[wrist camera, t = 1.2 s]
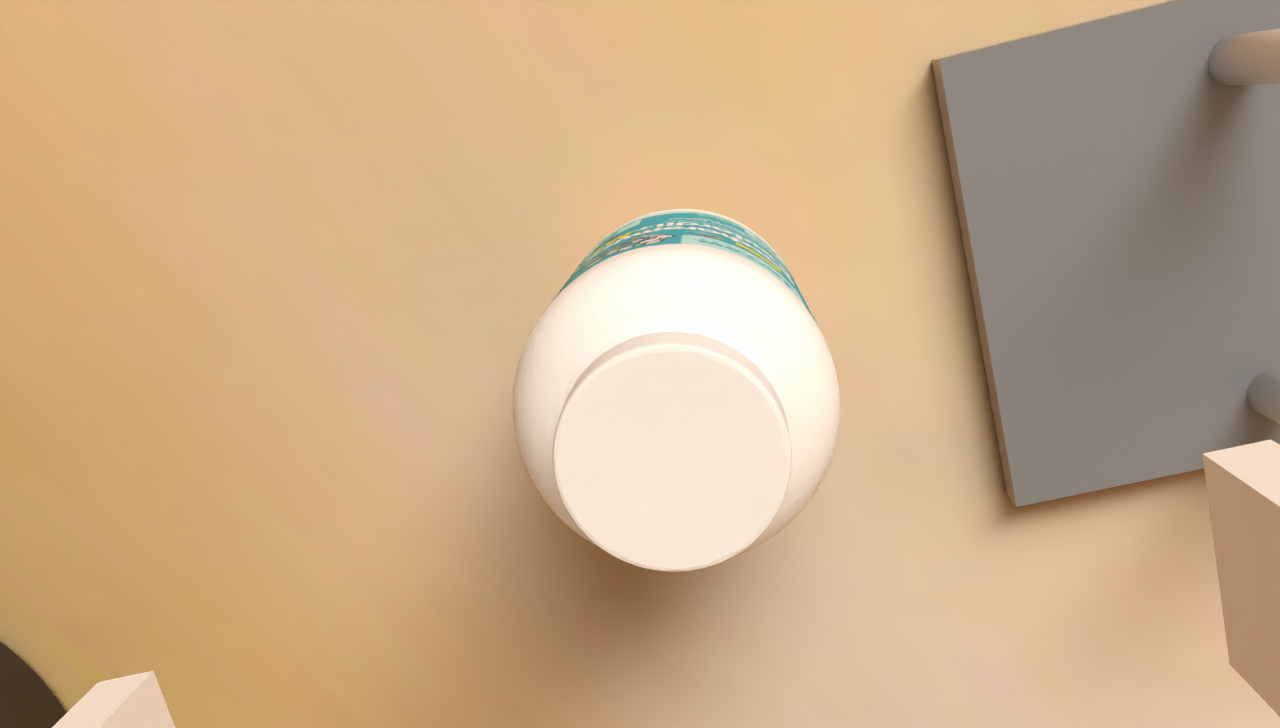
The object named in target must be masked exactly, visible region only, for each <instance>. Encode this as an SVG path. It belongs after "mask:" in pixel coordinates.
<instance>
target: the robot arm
mask: <svg viewBox="0 0 1280 728" xmlns="http://www.w3.org/2000/svg"><path fill="white" fill-rule="evenodd" d="M1202 455H1203V462H1204V470H1205V478H1206V485H1207V493H1208V501H1209V509H1210V516H1211V524H1212V532H1213V539H1214V547H1215V555H1216V563H1217V570H1218V578H1219V586H1220V594H1221V601H1222V609H1223V617H1224V624H1225V632H1226V640H1227V648H1228V655H1229V663H1230V665H1231V666H1232V667H1233V668H1234V669H1235V670H1236V671H1237V672H1238V673H1239V675H1240V676H1241V677H1242V678H1243V679H1244V680H1245V681H1246V682H1247V683H1248V684H1249V685H1250V686H1251V687H1252V688H1253V689H1254V690H1255V691H1256V692H1257V693H1258V694H1259V695H1260V696H1261V697H1262V698H1263V699H1264V701H1265V702H1266V703H1267V704H1268V705H1269V706H1270V707H1271V708H1272V709H1273V710H1274V711H1275V712H1276V713H1277V714H1278V715H1279V716H1280V445H1279V444H1278V443H1276V442H1274V441H1272V440H1266V441H1261V442H1256V443H1251V444H1246V445H1242V446H1237V447H1232V448H1227V449H1222V450H1218V451H1213V452H1208V453H1203V454H1202ZM0 728H175V726H174V723H173V721H172V718H171V715H170V713H169V710H168V708H167V705H166V702H165V700H164V697H163V695H162V692H161V689H160V687H159V684H158V682H157V679H156V677H155V674H154V671H150V672H145V673H140V674H135V675H130V676H125V677H121V678H116V679H111V680H106V681H101V682H98V683H97V684H96V685H95V686H94V687H93V688H92V689H91V690H90V691H89V692H88V693H87V694H86V695H85V696H84V697H83V698H82V699H81V700H80V701H79V702H77V703H76V704H75V705H74V706H73V707H72V708H71V709H70V710H69V711H68V712H67V713H66V712H65V711H64V709H63V708H62V706H61V705H60V703H59V702H58V700H57V699H56V697H55V696H54V695H53V693H52V692H51V691H50V689H49V688H48V687H47V686H46V685H45V683H44V682H43V681H42V680H41V679H40V678H39V676H38V675H37V674H36V673H35V672H34V671H33V670H32V669H31V668H30V667H29V666H28V665H27V664H26V663H25V662H24V661H22V660H21V659H20V658H19V657H18V656H17V655H16V654H15V653H13V652H12V651H11V650H10V649H9V648H7V647H6V646H5V645H4V644H2V643H1V642H0Z"/></svg>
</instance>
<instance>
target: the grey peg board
mask: <svg viewBox="0 0 1280 728" xmlns="http://www.w3.org/2000/svg"><path fill="white" fill-rule="evenodd" d="M931 62H932V67H933V73H934V79H935V85H936V90H937V96H938V102H939V107H940V113H941V119H942V125H943V130H944V136H945V142H946V148H947V153H948V159H949V165H950V171H951V176H952V182H953V188H954V193H955V199H956V205H957V211H958V216H959V222H960V228H961V234H962V239H963V245H964V251H965V257H966V262H967V268H968V274H969V280H970V285H971V291H972V297H973V302H974V308H975V314H976V320H977V325H978V331H979V337H980V343H981V348H982V354H983V360H984V366H985V371H986V377H987V383H988V388H989V394H990V400H991V406H992V411H993V417H994V423H995V429H996V434H997V440H998V446H999V452H1000V457H1001V463H1002V469H1003V475H1004V480H1005V486H1006V492H1007V496H1008V497H1009V499H1010V500H1011V501H1012V502H1013V503H1014V505H1015V506H1016V507H1019V506H1024V505H1029V504H1034V503H1039V502H1044V501H1048V500H1053V499H1058V498H1063V497H1068V496H1073V495H1078V494H1083V493H1087V492H1092V491H1097V490H1102V489H1107V488H1112V487H1117V486H1121V485H1126V484H1131V483H1136V482H1141V481H1146V480H1151V479H1156V478H1160V477H1165V476H1170V475H1175V474H1180V473H1185V472H1190V471H1194V470H1199V469H1204V462H1203V455H1202V454H1203V453H1208V452H1213V451H1218V450H1222V449H1227V448H1232V447H1237V446H1242V445H1246V444H1251V443H1256V442H1261V441H1266V440H1272V441H1274V442H1276V443H1278V444H1279V445H1280V0H1173V1H1169V2H1165V3H1161V4H1157V5H1153V6H1149V7H1145V8H1141V9H1137V10H1133V11H1129V12H1125V13H1121V14H1117V15H1113V16H1108V17H1104V18H1100V19H1096V20H1092V21H1088V22H1084V23H1080V24H1076V25H1072V26H1068V27H1064V28H1060V29H1056V30H1052V31H1048V32H1044V33H1040V34H1036V35H1032V36H1028V37H1024V38H1020V39H1016V40H1012V41H1008V42H1004V43H1000V44H996V45H992V46H988V47H984V48H980V49H976V50H972V51H968V52H964V53H960V54H956V55H952V56H948V57H944V58H940V59H936V60H932V61H931Z"/></svg>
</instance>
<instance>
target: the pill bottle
mask: <svg viewBox="0 0 1280 728" xmlns="http://www.w3.org/2000/svg"><path fill="white" fill-rule="evenodd" d="M513 420H514V429H515V434H516V439H517V444H518V448H519V451H520V454H521V457H522V460H523V463H524V465H525V468H526V470H527V472H528V474H529V476H530V478H531V480H532V482H533V484H534V486H535V487H536V489H537V490H538V492H539V494H540V495H541V497H542V498H543V499H544V500H545V502H546V503H547V504H548V505H549V507H550V508H551V509H552V510H553V511H554V513H555V514H556V515H557V516H558V517H559V518H560V519H561V520H562V521H564V522H565V523H566V524H567V525H568V526H569V527H570V528H571V529H573V530H574V531H575V532H576V533H578V534H579V535H580V536H582V537H583V538H584V539H586V540H588V541H589V542H591V543H593V544H595V545H596V546H598V547H600V548H601V549H603V550H604V551H606V552H607V553H609V554H610V555H612V556H614V557H616V558H618V559H620V560H622V561H625V562H627V563H630V564H632V565H635V566H638V567H641V568H645V569H651V570H657V571H665V572H677V571H691V570H697V569H703V568H706V567H710V566H713V565H716V564H718V563H721V562H723V561H725V560H727V559H729V558H731V557H733V556H736V555H739V554H741V553H744V552H746V551H748V550H750V549H752V548H754V547H756V546H758V545H760V544H761V543H763V542H765V541H766V540H768V539H769V538H771V537H772V536H774V535H775V534H776V533H778V532H779V531H780V530H781V529H783V528H784V527H785V526H786V525H788V524H789V523H790V522H791V521H792V520H793V519H794V518H795V517H796V516H797V515H798V513H799V512H800V511H801V510H802V509H803V508H804V507H805V505H806V504H807V503H808V501H809V500H810V499H811V497H812V496H813V494H814V493H815V491H816V490H817V488H818V487H819V485H820V483H821V481H822V479H823V477H824V475H825V473H826V471H827V469H828V467H829V464H830V461H831V458H832V455H833V452H834V448H835V444H836V440H837V435H838V430H839V421H840V394H839V386H838V380H837V374H836V369H835V366H834V362H833V359H832V356H831V353H830V351H829V348H828V346H827V343H826V341H825V339H824V336H823V334H822V332H821V331H820V329H819V327H818V325H817V323H816V321H815V319H814V317H813V315H812V314H811V312H810V310H809V308H808V306H807V304H806V302H805V300H804V298H803V296H802V295H801V293H800V291H799V289H798V287H797V285H796V283H795V281H794V279H793V277H792V275H791V274H790V272H789V270H788V269H787V267H786V265H785V264H784V262H783V261H782V259H781V258H780V257H779V255H778V254H777V253H776V252H775V251H774V249H773V248H772V247H771V246H770V245H769V244H768V243H767V242H766V241H765V240H764V239H763V238H762V237H760V236H759V235H758V234H757V233H755V232H754V231H752V230H751V229H749V228H748V227H746V226H745V225H743V224H741V223H739V222H737V221H735V220H733V219H731V218H729V217H726V216H723V215H720V214H717V213H713V212H710V211H705V210H697V209H670V210H663V211H657V212H652V213H649V214H646V215H643V216H640V217H637V218H635V219H633V220H631V221H629V222H627V223H625V224H623V225H621V226H620V227H618V228H616V229H615V230H613V231H612V232H611V233H609V234H608V235H607V236H606V237H605V238H603V239H602V240H601V241H600V242H599V243H598V244H597V245H596V246H595V247H594V248H593V249H592V250H591V251H590V253H589V254H588V255H587V256H586V257H585V259H584V260H583V261H582V263H581V264H580V265H579V266H578V268H577V269H576V270H575V272H574V273H573V274H572V275H571V277H570V278H569V280H568V281H567V282H566V283H565V285H564V286H563V288H562V289H561V290H560V291H559V293H558V294H557V296H556V297H555V298H554V300H553V301H552V302H551V303H550V305H549V306H548V307H547V309H546V310H545V311H544V313H543V314H542V316H541V317H540V319H539V320H538V322H537V323H536V325H535V327H534V328H533V330H532V332H531V333H530V335H529V337H528V339H527V341H526V343H525V346H524V349H523V352H522V354H521V357H520V360H519V364H518V368H517V372H516V377H515V383H514V392H513Z"/></svg>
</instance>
